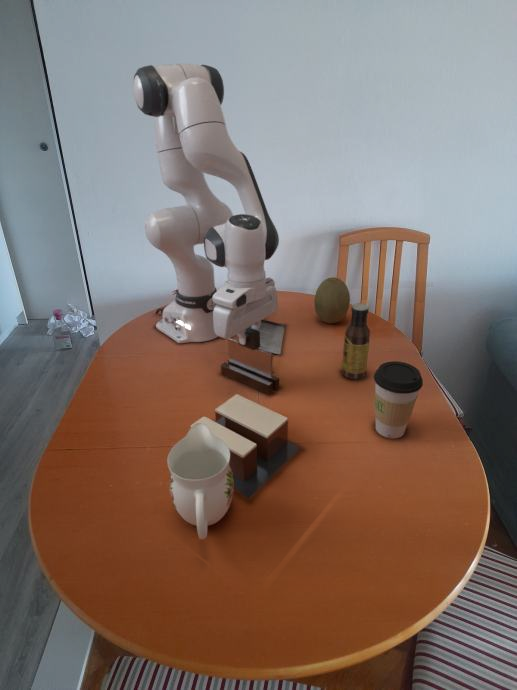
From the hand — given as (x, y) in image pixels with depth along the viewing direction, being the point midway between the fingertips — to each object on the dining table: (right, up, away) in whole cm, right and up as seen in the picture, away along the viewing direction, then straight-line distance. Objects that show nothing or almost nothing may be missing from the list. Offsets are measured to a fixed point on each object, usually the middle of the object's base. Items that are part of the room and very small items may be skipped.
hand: (248, 340), depth 110 cm
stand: (0, -11, +6) cm, 12 cm away
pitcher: (-7, -32, -31) cm, 45 cm away
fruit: (+26, +6, +36) cm, 45 cm away
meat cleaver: (+5, +4, +33) cm, 33 cm away
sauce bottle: (+28, -9, +8) cm, 30 cm away
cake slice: (-5, -25, -20) cm, 32 cm away
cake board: (-2, -24, -17) cm, 29 cm away
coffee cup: (+32, -20, -11) cm, 39 cm away
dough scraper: (0, -8, +4) cm, 9 cm away
